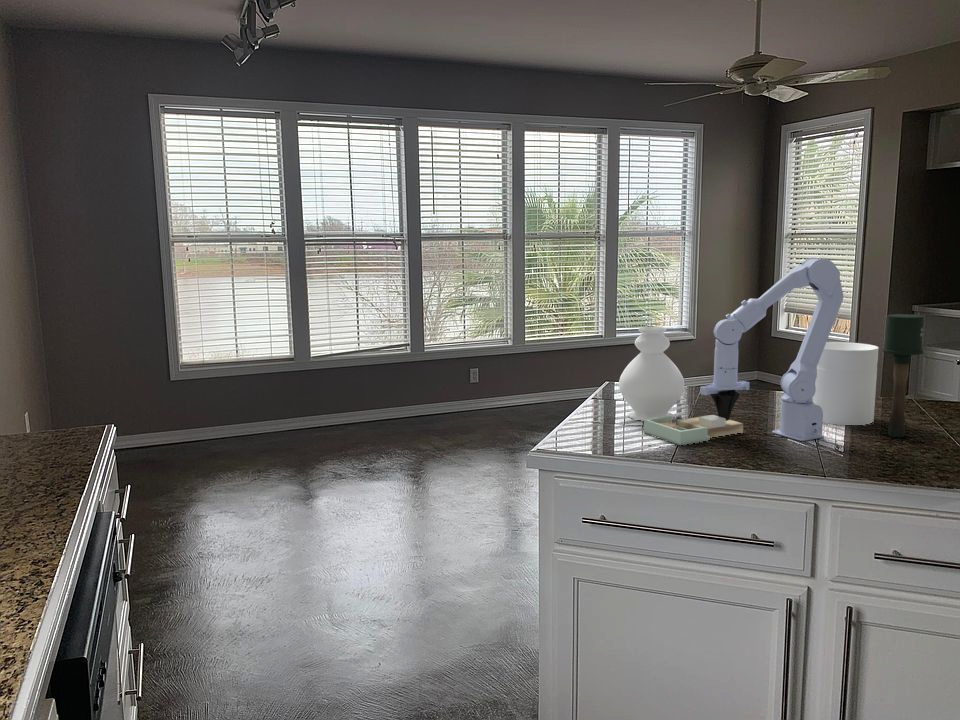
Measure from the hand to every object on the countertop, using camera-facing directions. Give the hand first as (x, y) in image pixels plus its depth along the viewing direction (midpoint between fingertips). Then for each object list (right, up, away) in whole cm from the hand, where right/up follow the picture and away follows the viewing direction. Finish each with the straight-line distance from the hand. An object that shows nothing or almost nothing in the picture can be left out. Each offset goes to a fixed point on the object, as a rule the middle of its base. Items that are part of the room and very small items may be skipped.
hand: (723, 419), depth 187 cm
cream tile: (-4, -1, -2) cm, 4 cm away
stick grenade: (+41, -4, -6) cm, 41 cm away
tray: (-13, -4, -2) cm, 14 cm away
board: (-3, -3, +2) cm, 5 cm away
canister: (+36, -1, +13) cm, 38 cm away
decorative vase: (-14, -1, +19) cm, 24 cm away
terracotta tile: (-15, -1, 0) cm, 15 cm away
